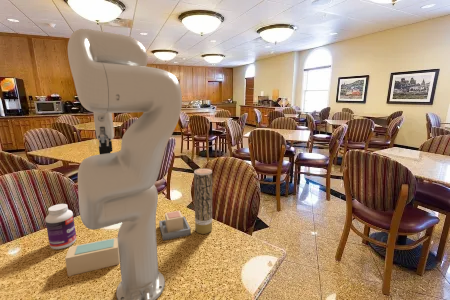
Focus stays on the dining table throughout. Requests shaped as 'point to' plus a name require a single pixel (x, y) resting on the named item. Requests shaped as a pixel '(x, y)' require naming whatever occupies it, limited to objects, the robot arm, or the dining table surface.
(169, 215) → the stub
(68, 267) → the beige rectangular block
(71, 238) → the pill bottle
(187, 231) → the tray
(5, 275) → the dining table surface
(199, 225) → the bark textured cylinder
